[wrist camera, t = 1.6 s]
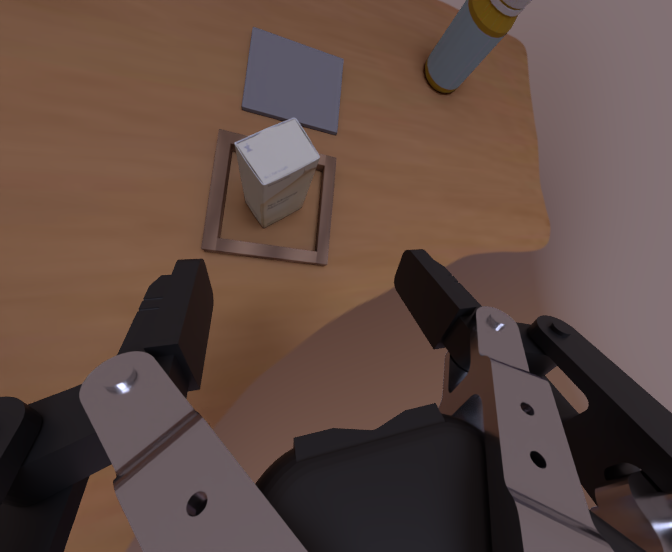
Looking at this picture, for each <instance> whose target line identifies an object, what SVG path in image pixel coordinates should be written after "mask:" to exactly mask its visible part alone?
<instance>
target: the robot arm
mask: <svg viewBox="0 0 672 552" xmlns="http://www.w3.org/2000/svg"><path fill="white" fill-rule="evenodd" d="M394 285H395V289H396V291H397V292H398V294H399V295H400V297H401V299H402V300H403V302H404V303H405V305H406V306H407V308H408V310H409V311H410V312H411V314H412V316H413V317H414V319H415V321H416V322H417V324H418V325H419V327H420V328H421V330H422V332H423V333H424V335H425V336H426V338H427V339H428V341H429V343H430V344H431V346H432V347H433V349H439V348H445V347H446V349H447V350H448V352H447V353H446V355H445V363H444V379H443V395H442V400H441V403H440V406H439V408H438V407H437V405H436V403H434V404H430V405H426V406H422V407H418V408H414V409H409V410H405V411H404V412H402V413H400V414H399V415H397V416H396V417H394V418H393V419H391V420H390V421H388V422H387V423H385V424H384V425H382V426H380V427H379V428H377V429H375V430H357V429H356V430H355V429H338V428H332V429H328V430H324V431H320V432H316V433H312V434H308V435H304V436H300V437H295V438H294V447H293V449H292V450H290V451H288V452H286V453H285V454H284V455H282V456H281V457H280V458H278V459H277V460H276V461H275V462H274V463H273V464H272V465H271V466H270V467H269V468H268V469H267V470H266V471H265V472H264V473H263V475H262V476H261V477H260V478H259V479H258V481H257V482H256V484H254V482H253V481H252V480H251V478H250V477H249V476H248V475H247V473H246V472H245V471H244V470H243V468H242V467H241V466H240V464H239V463H238V462H237V460H236V459H235V458H234V457H233V455H232V454H231V453H230V452H229V450H228V449H227V448H226V446H225V445H224V444H223V443H222V441H221V440H220V439H219V437H218V436H217V435H216V434H215V432H214V431H213V430H212V428H211V427H210V426H209V425H208V423H207V422H206V421H205V420H204V418H203V417H202V416H201V415H200V414H199V413H198V412H196V411H195V410H194V409H193V407H192V406H191V405H190V404H189V402H188V401H187V400H186V397H187V392H188V391H193V390H199V389H200V385H201V379H202V373H203V367H204V361H205V354H206V348H207V342H208V336H209V330H210V324H211V317H212V311H213V292H212V288H211V284H210V280H209V276H208V273H207V269H206V265H205V262H204V260H203V259H185V260H177V262H176V264H175V267H174V270H173V272H172V275H161V276H160V277H159V278H158V279H157V280H156V281H155V282H153V283H152V284H151V285H150V286H149V288H148V290H147V292H146V294H145V296H144V301H142V303H141V305H140V307H139V312H137V314H136V316H135V318H134V320H133V322H132V324H131V327H130V329H129V331H128V333H127V335H126V337H125V339H124V342H123V344H122V346H121V348H120V350H119V352H118V354H117V356H115V357H112V358H110V359H108V360H107V361H105V362H103V363H102V364H100V365H99V366H98V367H96V368H95V369H94V370H93V371H92V372H91V373H90V374H89V375H88V376H87V378H86V379H85V381H84V382H83V384H81V385H78V386H76V387H74V388H71V389H68V390H66V391H63V392H60V393H58V394H55V395H52V396H50V397H47V398H44V399H42V400H39V401H36V402H34V403H31V404H29V405H27V404H26V403H24V402H22V401H21V400H19V399H17V398H14V397H0V552H64V549H65V546H66V543H67V540H68V537H69V534H70V531H71V528H72V526H73V523H74V520H75V517H76V514H77V511H78V508H79V505H80V502H81V499H82V496H83V493H84V490H85V487H86V484H87V481H88V479H89V476H90V475H92V474H94V473H96V472H97V471H99V470H101V469H103V468H105V467H107V466H109V465H111V464H112V465H113V467H114V469H115V472H116V479H114V481H113V485H114V490H115V493H116V496H117V498H118V500H119V503H120V505H121V507H122V509H123V511H124V513H125V515H126V517H127V519H128V521H129V524H130V526H131V528H132V530H133V532H134V534H135V536H136V538H137V540H138V542H139V544H140V546H141V549H142V551H143V552H672V413H671V412H669V411H668V410H667V409H666V408H665V407H664V406H662V405H661V404H660V403H659V402H658V401H657V400H655V399H654V398H653V397H652V396H651V395H650V394H648V392H646V391H645V390H644V389H643V388H642V387H641V386H639V385H638V384H637V383H636V382H635V381H634V380H633V379H631V378H630V377H629V376H628V375H627V374H626V373H625V372H623V371H622V370H621V369H620V368H619V367H618V366H616V365H615V364H614V363H613V362H612V361H611V360H609V359H608V358H607V357H606V356H605V355H604V354H603V353H601V352H600V351H599V350H598V349H597V348H596V347H595V346H593V345H592V344H591V343H590V342H589V341H588V340H586V339H585V338H584V337H583V336H582V335H581V334H580V333H578V332H577V331H576V330H575V329H574V328H573V327H571V326H570V325H568V324H567V323H565V322H563V321H562V320H559V319H557V318H554V317H551V316H540V317H538V318H537V319H536V320H535V321H534V323H532V324H531V325H529V324H523V323H516V322H515V321H514V320H513V319H512V318H511V317H510V316H509V315H507V314H506V313H504V312H502V311H501V310H498V309H496V308H493V307H487V306H485V307H482V306H481V305H480V304H479V303H478V302H477V301H476V300H475V299H474V298H473V297H472V295H471V294H470V293H469V292H468V291H467V290H466V289H465V288H464V287H463V286H462V285H461V284H460V283H458V281H457V280H456V279H455V277H454V276H452V275H451V273H450V272H449V271H448V270H447V269H446V268H445V267H444V266H442V265H441V264H439V263H438V262H436V261H435V260H433V259H432V258H431V256H430V255H429V254H428V253H427V252H426V251H425V250H423V249H419V250H406V251H405V252H404V253H403V255H402V258H401V261H400V263H399V266H398V269H397V272H396V275H395V278H394ZM556 366H558V367H559V368H560V369H561V370H562V371H563V372H564V373H565V374H566V375H567V376H568V377H569V378H570V379H571V380H572V382H573V383H574V384H575V385H576V386H577V387H578V388H579V389H580V390H581V391H582V392H583V393H584V394H585V396H586V397H587V399H588V402H589V406H588V409H587V410H586V411H584V412H582V413H581V414H579V413H578V412H577V411H576V410H575V409H574V408H573V407H572V406H571V405H570V403H569V402H568V401H567V400H566V399H565V398H564V397H563V396H562V395H561V393H560V392H559V391H558V390H557V389H556V388H555V386H554V385H553V384H552V383H551V382H550V381H549V380H548V379H547V377H546V376H545V375H546V374H547V373H548V372H550V371H551V370H552V369H553V368H555V367H556ZM640 469H641V470H640ZM580 483H581V484H580ZM581 485H582V486H583V487H584V489H585V490H586V491H587V493H588V494H589V496H590V497H591V498H592V500H593V501H594V502H595V504H596V505H597V506H596V507H592V508H591V509H590V510H589V509H588V506H587V503H586V500H585V497H584V493H583V490H582V487H581Z"/></svg>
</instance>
